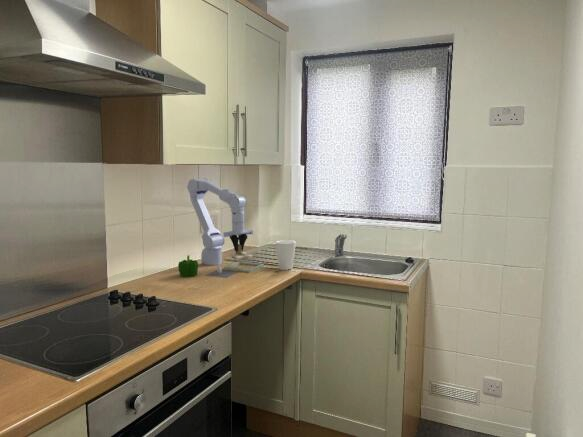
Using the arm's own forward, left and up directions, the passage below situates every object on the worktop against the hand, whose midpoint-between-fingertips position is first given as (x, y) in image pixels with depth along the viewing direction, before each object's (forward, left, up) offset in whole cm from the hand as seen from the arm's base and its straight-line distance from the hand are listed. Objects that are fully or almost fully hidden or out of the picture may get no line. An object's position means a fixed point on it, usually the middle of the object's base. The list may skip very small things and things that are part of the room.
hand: (238, 250), depth 210 cm
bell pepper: (-12, -22, -10) cm, 27 cm away
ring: (+2, -1, -3) cm, 4 cm away
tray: (+3, 0, -9) cm, 10 cm away
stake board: (0, -14, -9) cm, 17 cm away
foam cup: (+19, +12, -10) cm, 24 cm away
